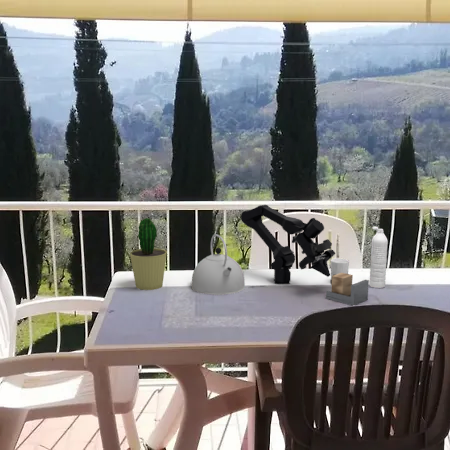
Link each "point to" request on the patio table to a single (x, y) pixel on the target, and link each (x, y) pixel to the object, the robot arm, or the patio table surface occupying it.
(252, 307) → the patio table surface
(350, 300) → the grey open holder
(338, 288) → the tan box
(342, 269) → the white cup
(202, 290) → the kettle
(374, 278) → the water bottle
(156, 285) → the potted cactus
